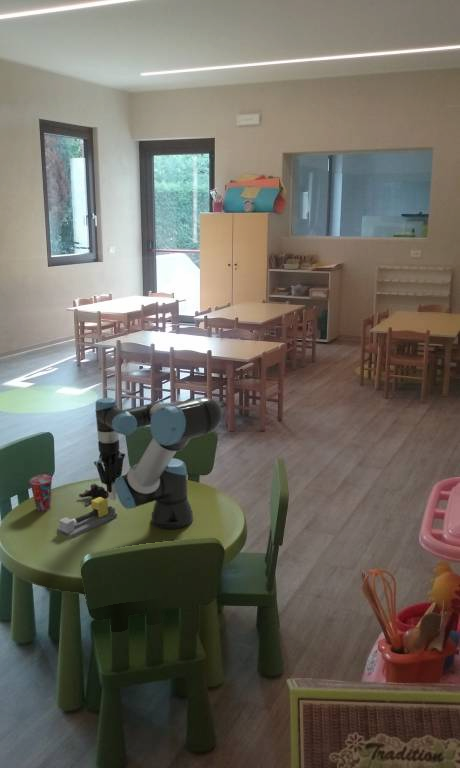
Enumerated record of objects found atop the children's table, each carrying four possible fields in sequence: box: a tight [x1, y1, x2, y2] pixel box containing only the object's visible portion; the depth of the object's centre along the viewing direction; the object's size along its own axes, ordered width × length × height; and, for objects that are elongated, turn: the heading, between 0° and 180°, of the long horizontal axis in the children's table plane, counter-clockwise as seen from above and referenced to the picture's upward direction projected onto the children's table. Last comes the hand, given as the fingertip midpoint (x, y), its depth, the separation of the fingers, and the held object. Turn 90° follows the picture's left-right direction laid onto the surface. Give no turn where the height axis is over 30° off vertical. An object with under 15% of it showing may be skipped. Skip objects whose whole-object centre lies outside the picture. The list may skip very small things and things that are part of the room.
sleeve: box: [90, 497, 109, 517], centre depth 255 cm, size 4×4×6 cm
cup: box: [28, 473, 53, 512], centre depth 263 cm, size 9×8×12 cm
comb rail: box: [56, 505, 118, 539], centre depth 251 cm, size 21×8×5 cm, turn 139°
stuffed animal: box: [78, 482, 109, 507], centre depth 273 cm, size 12×10×12 cm
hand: (112, 498), depth 259 cm, fingers closed
